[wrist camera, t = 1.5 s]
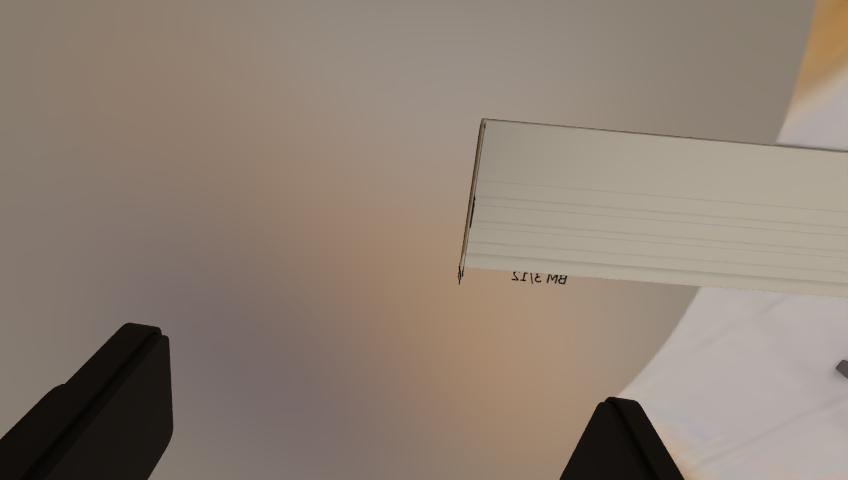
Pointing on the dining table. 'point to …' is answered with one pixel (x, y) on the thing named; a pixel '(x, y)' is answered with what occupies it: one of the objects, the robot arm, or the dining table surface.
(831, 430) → the dining table surface
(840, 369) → the u-shaped bracket
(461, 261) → the baseboard molding
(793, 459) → the dining table surface
